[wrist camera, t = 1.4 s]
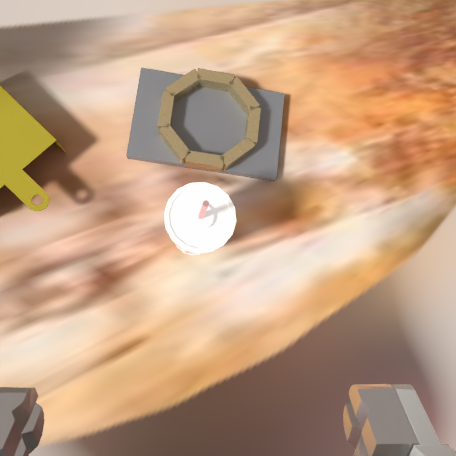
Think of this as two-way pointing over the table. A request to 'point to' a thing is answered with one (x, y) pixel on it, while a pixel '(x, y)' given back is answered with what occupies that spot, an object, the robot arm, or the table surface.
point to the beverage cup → (199, 218)
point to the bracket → (21, 150)
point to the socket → (218, 83)
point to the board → (205, 125)
